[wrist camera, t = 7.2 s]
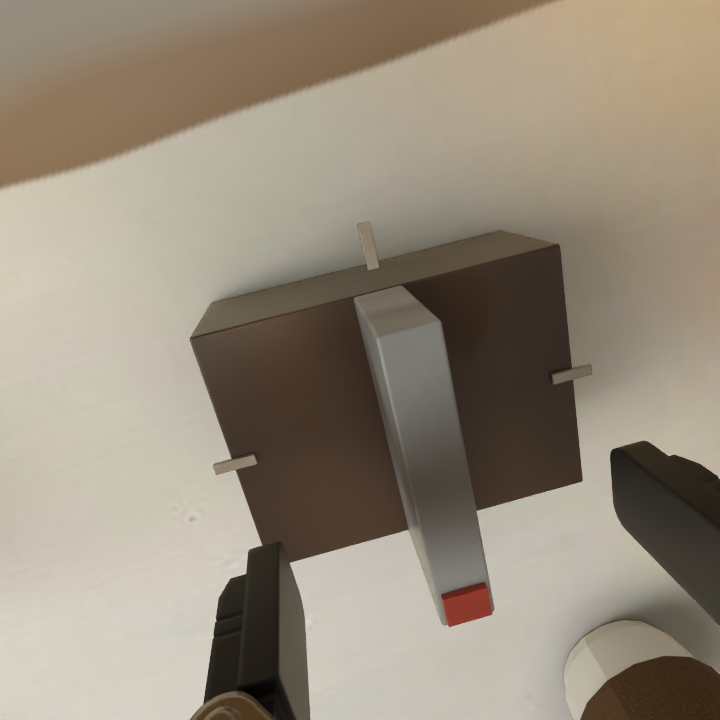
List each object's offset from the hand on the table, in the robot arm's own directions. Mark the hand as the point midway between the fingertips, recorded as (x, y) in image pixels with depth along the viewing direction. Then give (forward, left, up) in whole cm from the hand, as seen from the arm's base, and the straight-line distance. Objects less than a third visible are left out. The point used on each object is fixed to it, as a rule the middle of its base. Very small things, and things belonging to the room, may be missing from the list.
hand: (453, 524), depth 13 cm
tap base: (0, 0, -11) cm, 11 cm away
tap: (0, 0, -6) cm, 6 cm away
